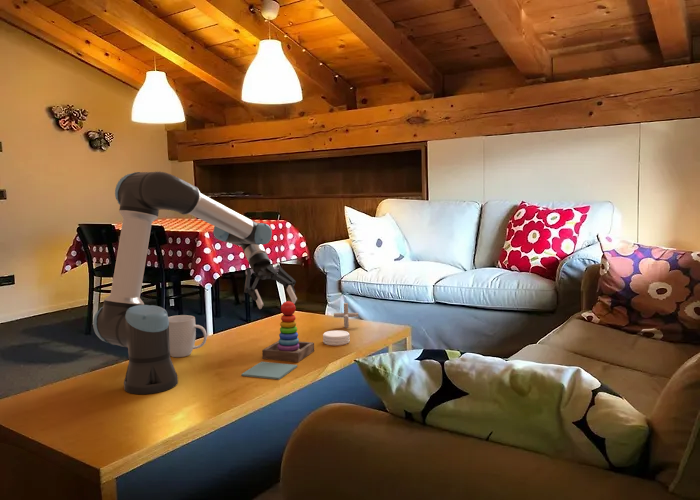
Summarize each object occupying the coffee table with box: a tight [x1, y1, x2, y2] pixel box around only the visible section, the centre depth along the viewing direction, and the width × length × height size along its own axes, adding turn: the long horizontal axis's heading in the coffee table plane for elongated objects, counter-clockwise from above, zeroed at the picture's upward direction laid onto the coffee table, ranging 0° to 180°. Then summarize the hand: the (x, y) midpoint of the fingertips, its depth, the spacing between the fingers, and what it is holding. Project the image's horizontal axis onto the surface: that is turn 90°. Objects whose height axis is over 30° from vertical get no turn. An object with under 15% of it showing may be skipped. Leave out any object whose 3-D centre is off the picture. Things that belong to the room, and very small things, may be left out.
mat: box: [241, 361, 298, 380], centre depth 184 cm, size 13×13×1 cm
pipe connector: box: [333, 302, 359, 329], centre depth 238 cm, size 10×10×10 cm
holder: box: [261, 340, 315, 363], centre depth 201 cm, size 13×13×3 cm
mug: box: [168, 314, 208, 358], centre depth 204 cm, size 15×11×13 cm
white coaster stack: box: [322, 329, 351, 346], centre depth 217 cm, size 10×10×4 cm
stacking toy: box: [278, 300, 300, 352], centre depth 201 cm, size 8×8×19 cm
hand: (278, 304), depth 207 cm, fingers open, 13 cm apart
